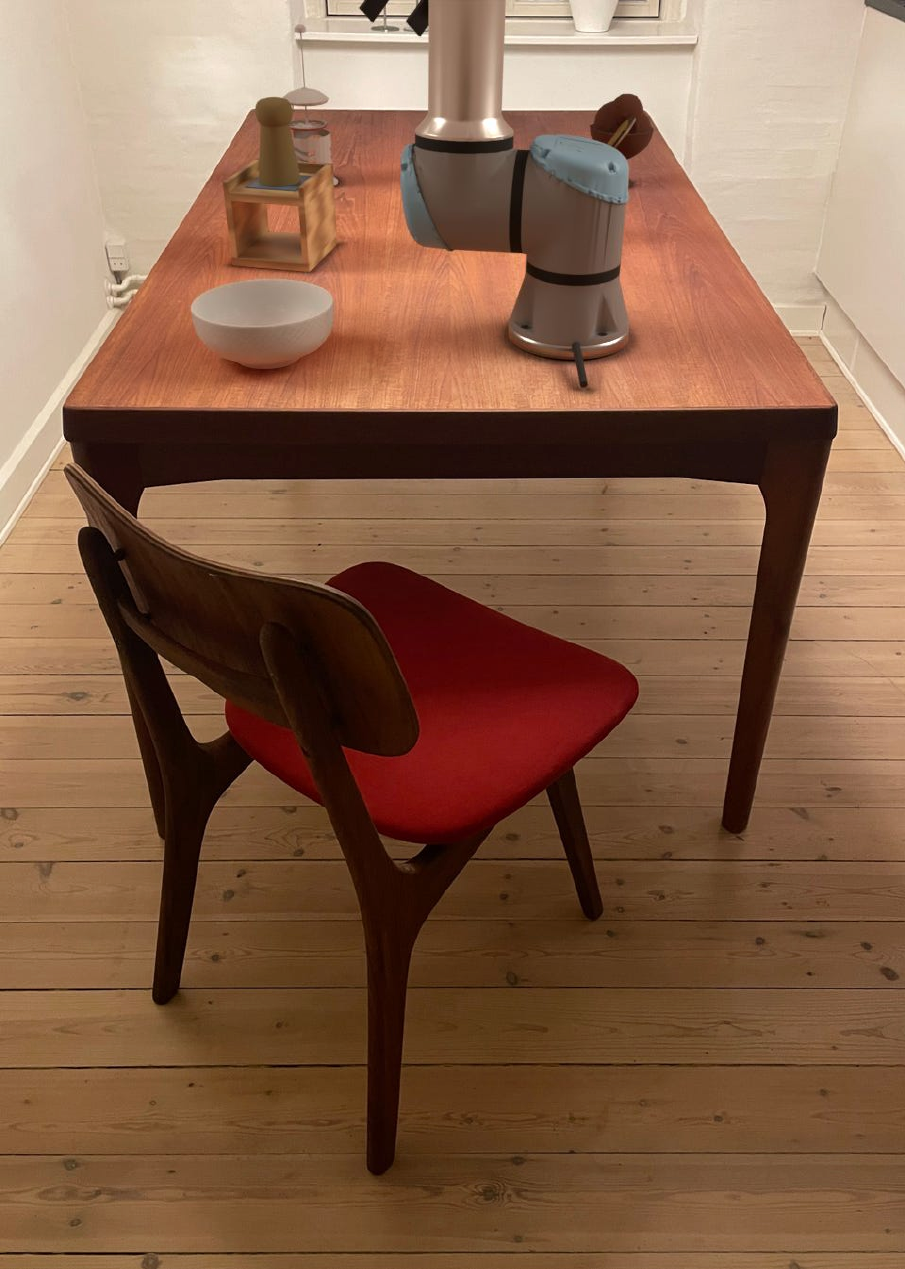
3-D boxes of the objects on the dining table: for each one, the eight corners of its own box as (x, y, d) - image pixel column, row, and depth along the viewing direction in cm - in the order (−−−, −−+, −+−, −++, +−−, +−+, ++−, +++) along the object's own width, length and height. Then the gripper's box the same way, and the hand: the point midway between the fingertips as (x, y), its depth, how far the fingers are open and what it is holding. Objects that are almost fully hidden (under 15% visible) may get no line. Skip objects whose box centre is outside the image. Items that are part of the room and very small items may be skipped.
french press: (312, 193, 193) (301, 31, 178) (264, 181, 199) (249, 23, 184) (349, 180, 200) (342, 23, 185) (302, 170, 205) (291, 16, 190)
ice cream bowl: (656, 181, 200) (666, 90, 191) (630, 196, 193) (639, 102, 184) (603, 172, 205) (611, 83, 196) (575, 186, 197) (582, 94, 188)
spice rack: (309, 272, 161) (303, 187, 154) (231, 265, 164) (222, 181, 156) (337, 244, 172) (332, 163, 164) (263, 238, 174) (256, 158, 167)
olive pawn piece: (252, 185, 159) (244, 101, 153) (267, 174, 164) (260, 92, 157) (292, 188, 158) (285, 103, 152) (306, 176, 163) (300, 94, 156)
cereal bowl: (339, 329, 144) (336, 275, 140) (334, 383, 131) (330, 325, 127) (207, 331, 143) (200, 276, 139) (188, 386, 130) (180, 327, 126)
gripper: (547, -80, 149) (451, 55, 152) (449, -94, 166) (364, 28, 168) (516, -128, 143) (417, 14, 146) (418, -136, 160) (331, -10, 163)
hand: (388, 22), depth 157 cm, fingers open, 13 cm apart
